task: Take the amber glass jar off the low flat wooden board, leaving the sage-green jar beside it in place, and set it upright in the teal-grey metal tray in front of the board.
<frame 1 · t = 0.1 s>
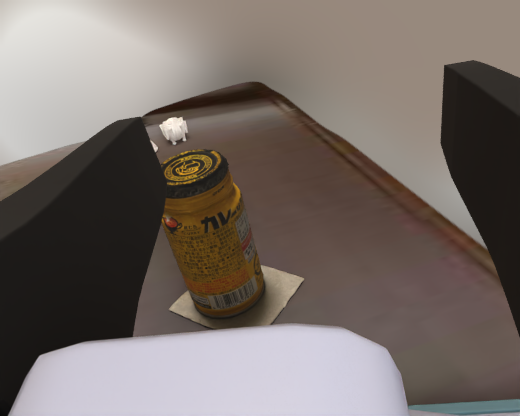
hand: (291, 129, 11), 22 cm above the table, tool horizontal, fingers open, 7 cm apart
game pieces: (148, 153, 63), on the table
condiment: (237, 297, 38), on the table
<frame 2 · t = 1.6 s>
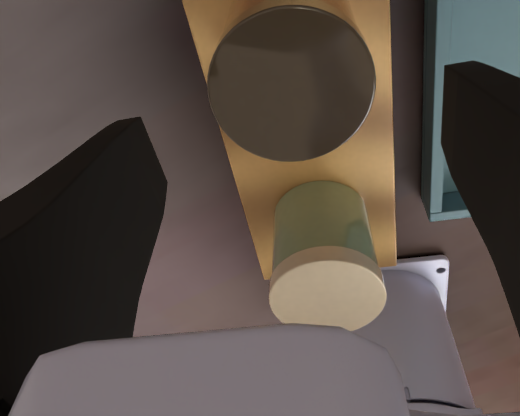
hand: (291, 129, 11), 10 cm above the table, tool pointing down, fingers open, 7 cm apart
amber jar: (289, 28, 17), point 3 cm above the table, touching flat wooden board
flat wooden board: (302, 87, 22), on the table
green jar: (320, 217, 22), point 3 cm above the table, touching flat wooden board
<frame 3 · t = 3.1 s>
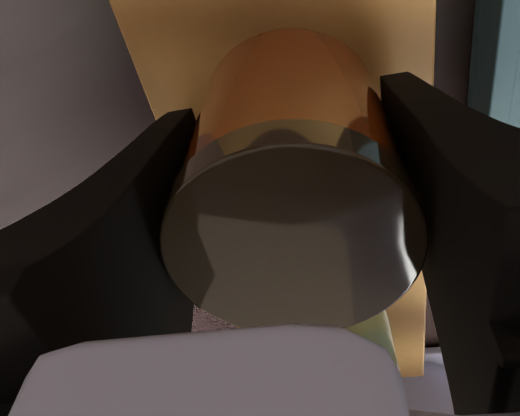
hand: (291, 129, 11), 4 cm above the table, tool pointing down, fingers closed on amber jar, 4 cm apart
amber jar: (289, 115, 12), point 4 cm above the table, touching gripper, flat wooden board
flat wooden board: (307, 164, 17), on the table
green jar: (329, 326, 18), point 3 cm above the table, touching flat wooden board
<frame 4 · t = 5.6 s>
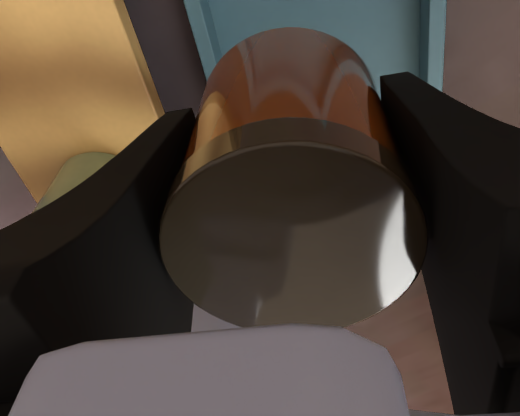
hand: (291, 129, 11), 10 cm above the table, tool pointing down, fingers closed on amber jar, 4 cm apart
amber jar: (289, 114, 12), point 9 cm above the table, touching gripper
flat wooden board: (84, 53, 20), on the table
green jar: (107, 193, 21), point 3 cm above the table, touching flat wooden board
tray: (314, 9, 19), on the table
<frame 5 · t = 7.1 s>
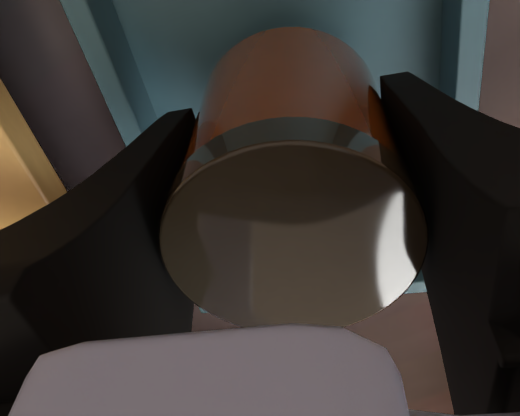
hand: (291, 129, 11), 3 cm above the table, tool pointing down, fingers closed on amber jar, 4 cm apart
amber jar: (289, 113, 12), point 2 cm above the table, touching gripper
tray: (290, 79, 13), on the table
when the fingers open (2 cm above the table, at t = 8.7 s): amber jar stays where it is, resting on tray.
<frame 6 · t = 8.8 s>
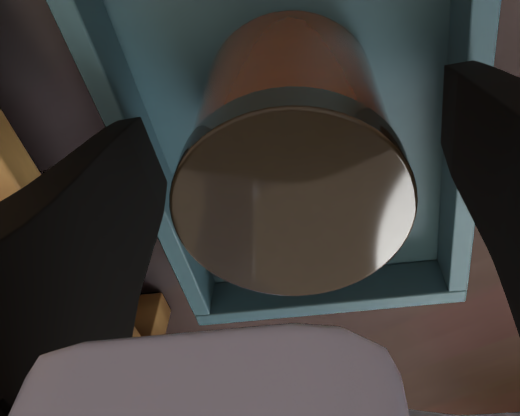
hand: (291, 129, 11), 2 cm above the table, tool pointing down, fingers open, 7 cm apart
amber jar: (289, 94, 13), resting on tray
tray: (291, 87, 13), on the table
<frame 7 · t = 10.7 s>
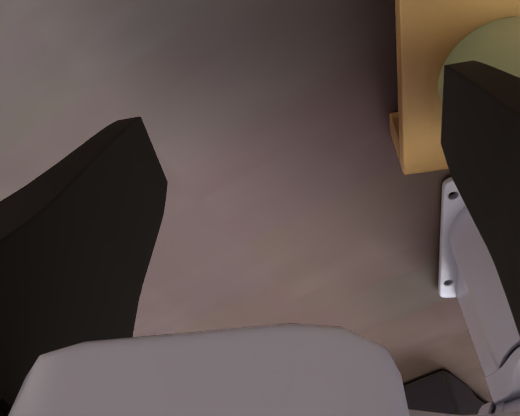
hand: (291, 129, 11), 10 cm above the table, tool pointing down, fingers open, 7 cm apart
green jar: (498, 76, 17), point 3 cm above the table, touching flat wooden board
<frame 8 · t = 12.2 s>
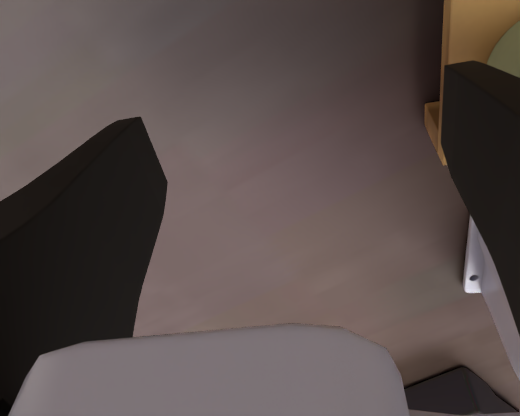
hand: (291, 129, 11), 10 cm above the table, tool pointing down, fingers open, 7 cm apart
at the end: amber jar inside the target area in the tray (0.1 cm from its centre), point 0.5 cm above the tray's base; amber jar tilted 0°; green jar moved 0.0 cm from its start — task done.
